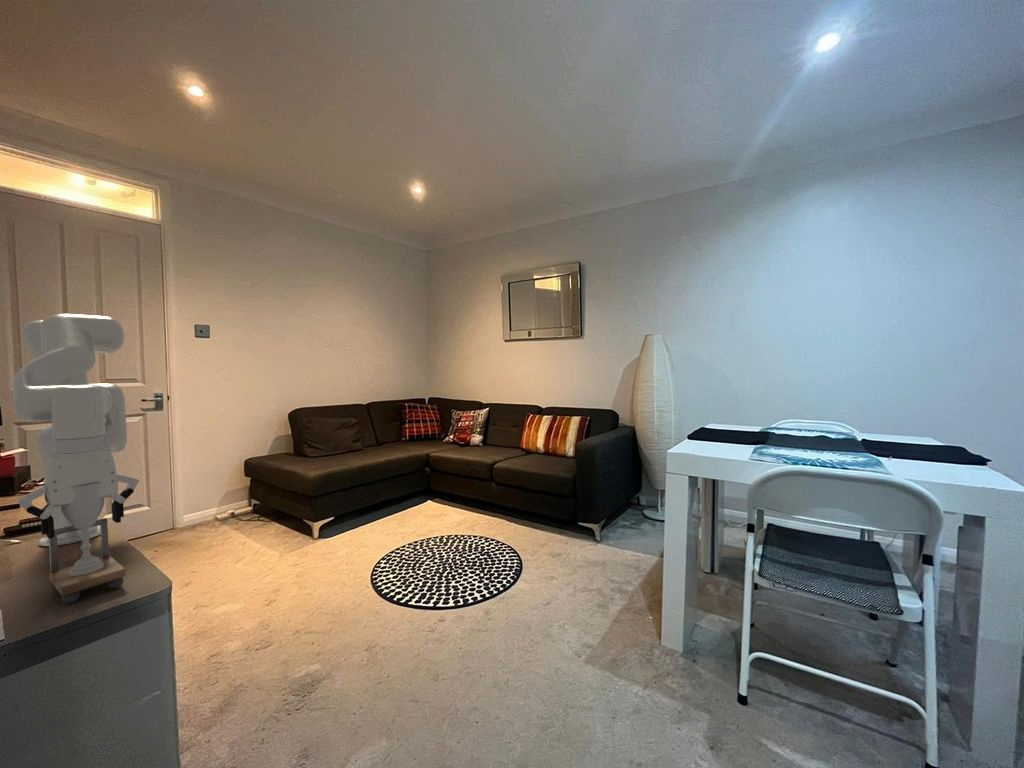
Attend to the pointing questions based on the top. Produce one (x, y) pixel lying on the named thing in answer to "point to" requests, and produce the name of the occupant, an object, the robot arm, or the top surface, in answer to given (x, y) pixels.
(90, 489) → the chalice
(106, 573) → the cart
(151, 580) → the top surface
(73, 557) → the top surface
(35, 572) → the top surface
